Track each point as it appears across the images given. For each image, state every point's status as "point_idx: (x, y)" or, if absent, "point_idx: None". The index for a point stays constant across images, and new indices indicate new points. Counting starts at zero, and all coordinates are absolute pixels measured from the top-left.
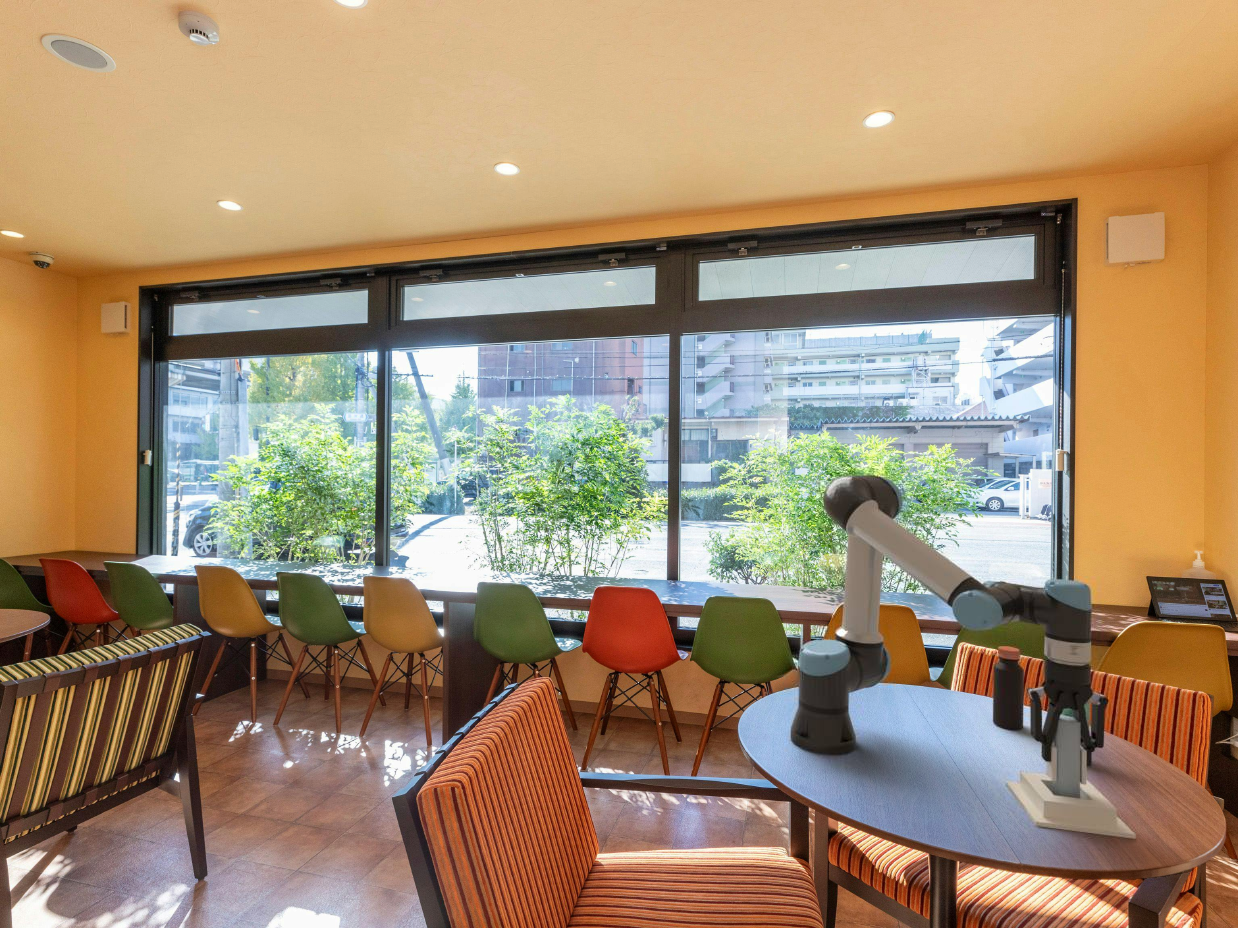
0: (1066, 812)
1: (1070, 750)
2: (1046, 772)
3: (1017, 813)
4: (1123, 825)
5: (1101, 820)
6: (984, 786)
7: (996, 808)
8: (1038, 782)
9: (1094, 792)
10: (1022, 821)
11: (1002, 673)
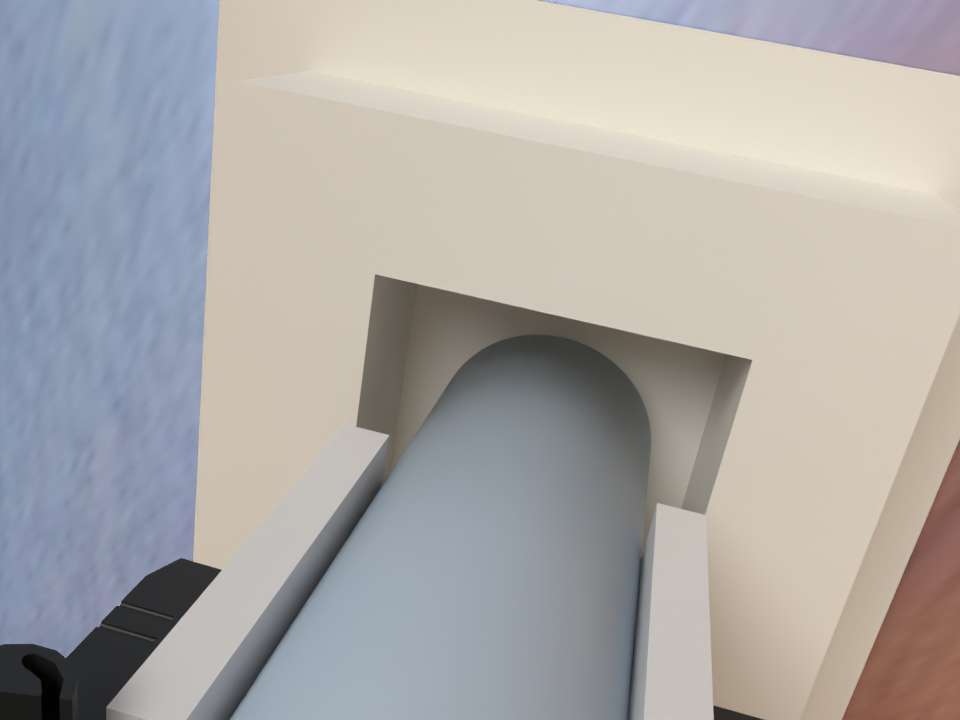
0: None
1: None
2: (336, 435)
3: (150, 448)
4: (826, 689)
5: None
6: (39, 10)
7: (30, 383)
8: (320, 343)
9: (801, 545)
10: (143, 542)
11: None
